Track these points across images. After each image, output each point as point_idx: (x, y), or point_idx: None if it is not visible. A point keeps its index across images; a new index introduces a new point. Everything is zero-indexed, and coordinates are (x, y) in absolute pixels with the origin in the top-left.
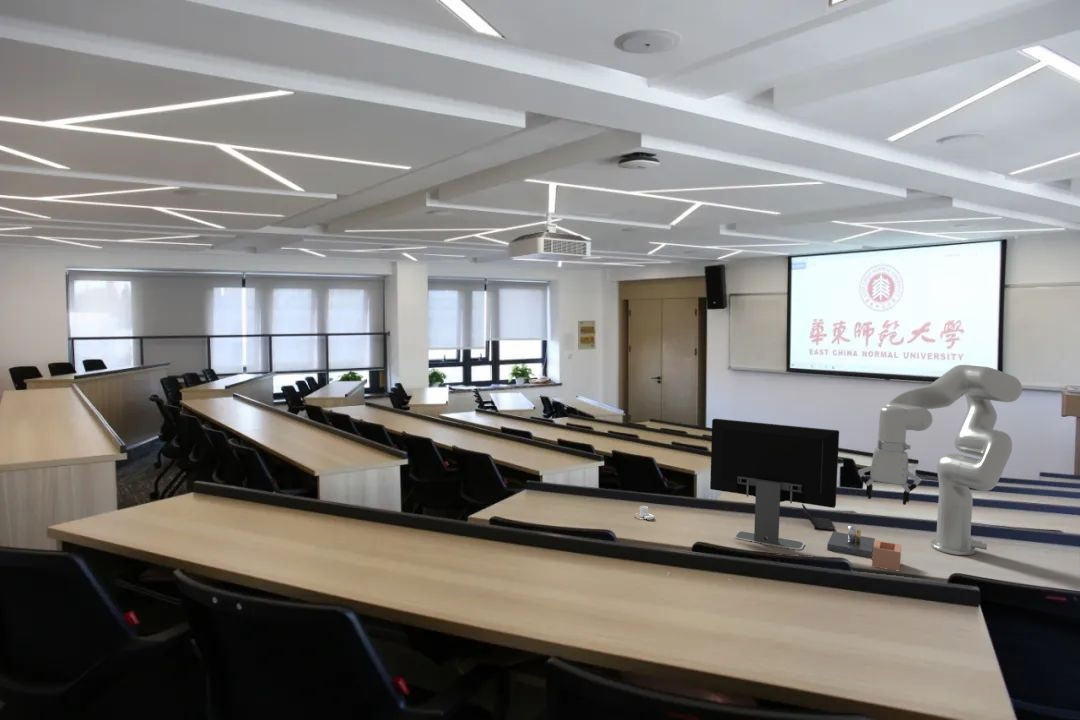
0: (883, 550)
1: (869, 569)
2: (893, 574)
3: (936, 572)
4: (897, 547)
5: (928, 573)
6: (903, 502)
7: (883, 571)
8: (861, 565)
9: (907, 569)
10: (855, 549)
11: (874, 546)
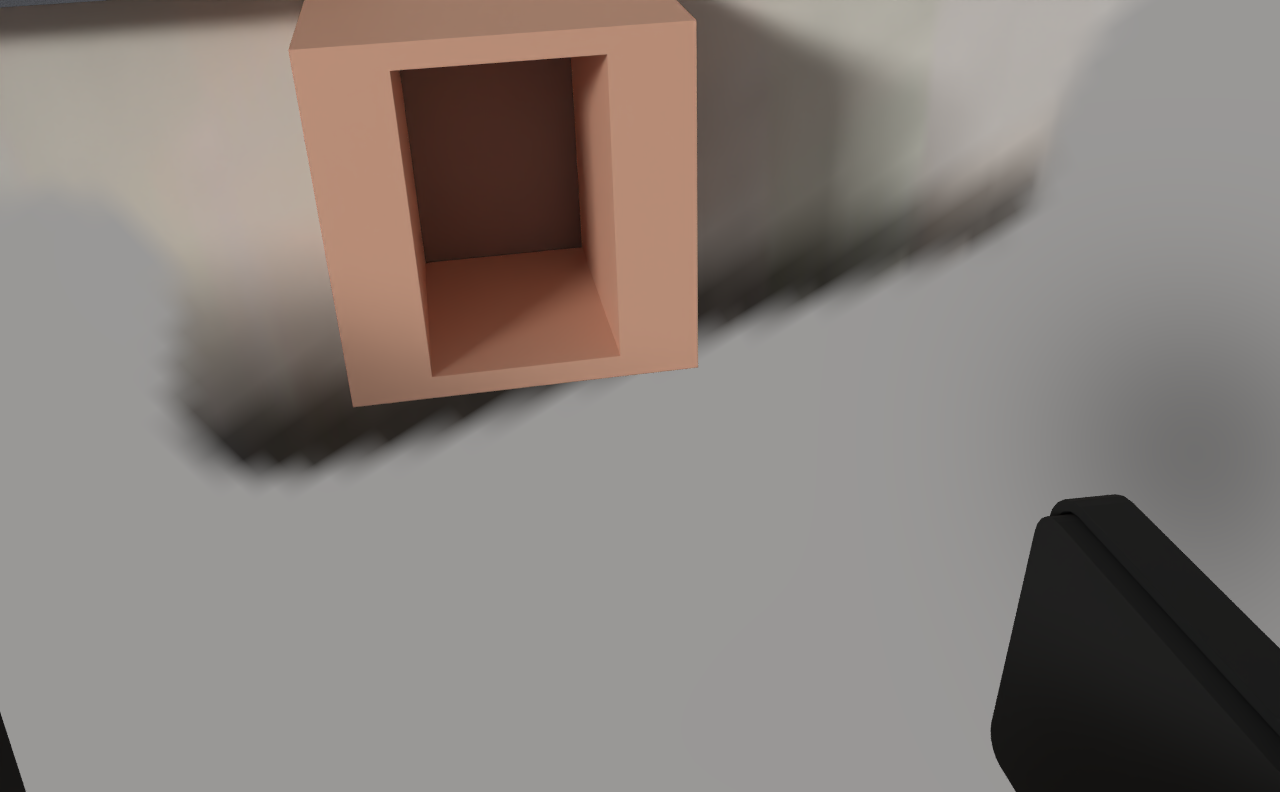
0: (490, 384)
1: None
2: None
3: (1022, 26)
4: (651, 191)
5: (935, 116)
6: (1030, 784)
7: None
8: (249, 326)
9: (725, 131)
10: (23, 2)
11: (359, 350)
